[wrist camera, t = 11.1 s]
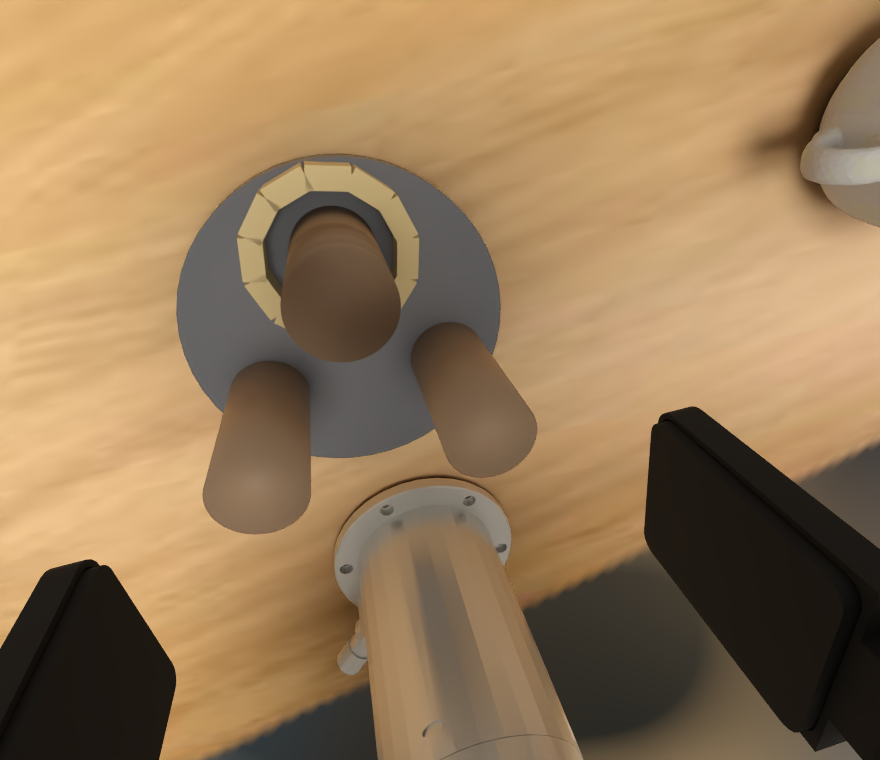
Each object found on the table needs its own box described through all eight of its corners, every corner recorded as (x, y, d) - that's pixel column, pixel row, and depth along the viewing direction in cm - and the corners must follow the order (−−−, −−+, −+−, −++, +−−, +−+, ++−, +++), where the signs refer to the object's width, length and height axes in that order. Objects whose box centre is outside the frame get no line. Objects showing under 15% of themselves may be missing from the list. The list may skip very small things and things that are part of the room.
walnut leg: (351, 304, 26) (365, 379, 19) (274, 266, 24) (260, 332, 17) (391, 233, 25) (422, 286, 18) (313, 187, 23) (314, 226, 16)
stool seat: (398, 471, 34) (429, 598, 25) (136, 374, 27) (57, 501, 19) (543, 258, 29) (641, 325, 21) (269, 77, 23) (245, 65, 14)
